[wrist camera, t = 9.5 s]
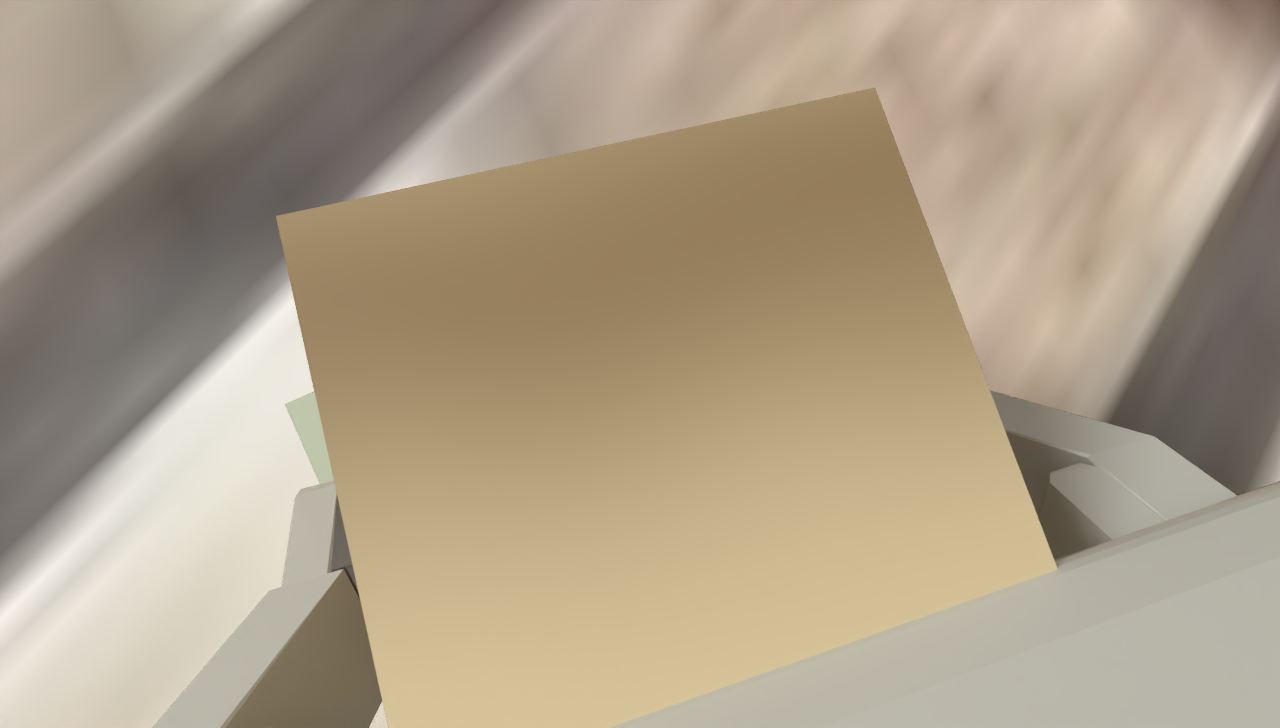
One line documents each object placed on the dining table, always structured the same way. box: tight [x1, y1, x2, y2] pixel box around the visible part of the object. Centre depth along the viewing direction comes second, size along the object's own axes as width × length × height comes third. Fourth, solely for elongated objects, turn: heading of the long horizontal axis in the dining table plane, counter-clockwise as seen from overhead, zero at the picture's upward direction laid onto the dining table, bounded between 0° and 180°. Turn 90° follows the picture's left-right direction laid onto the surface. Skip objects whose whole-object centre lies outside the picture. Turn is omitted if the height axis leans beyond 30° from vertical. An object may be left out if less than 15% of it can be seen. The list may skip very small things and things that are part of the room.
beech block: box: [276, 88, 1058, 728], centre depth 10 cm, size 5×5×10 cm
